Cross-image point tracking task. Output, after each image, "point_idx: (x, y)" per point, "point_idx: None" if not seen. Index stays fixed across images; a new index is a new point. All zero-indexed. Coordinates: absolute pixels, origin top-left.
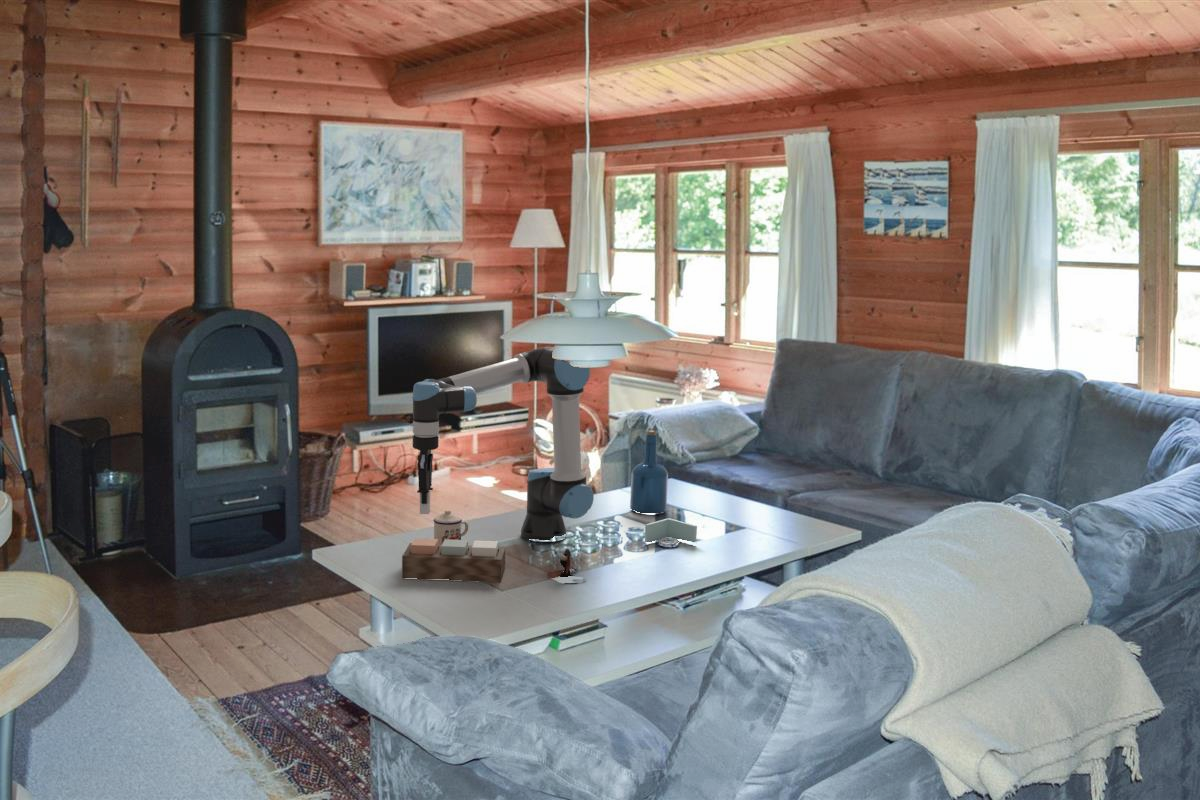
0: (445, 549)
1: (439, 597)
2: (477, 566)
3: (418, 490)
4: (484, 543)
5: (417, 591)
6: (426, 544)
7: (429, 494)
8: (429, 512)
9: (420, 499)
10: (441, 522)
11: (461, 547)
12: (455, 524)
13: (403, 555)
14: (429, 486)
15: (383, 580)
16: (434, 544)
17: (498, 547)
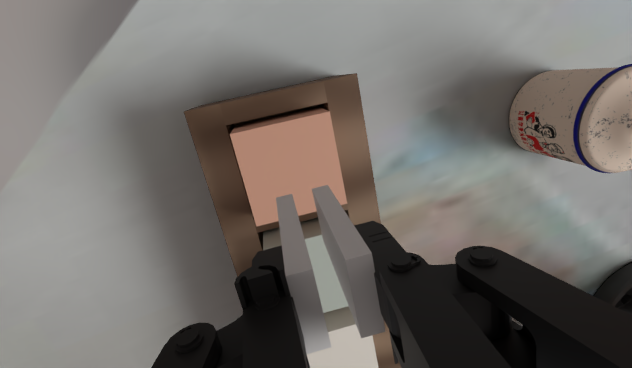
0: None
1: (97, 268)
2: None
3: (271, 281)
4: (345, 357)
5: (114, 194)
6: (261, 191)
7: (353, 314)
8: (323, 240)
9: (283, 245)
10: (583, 115)
11: None
12: (583, 161)
13: (192, 113)
14: (400, 359)
15: (161, 51)
16: (274, 218)
17: (390, 354)
